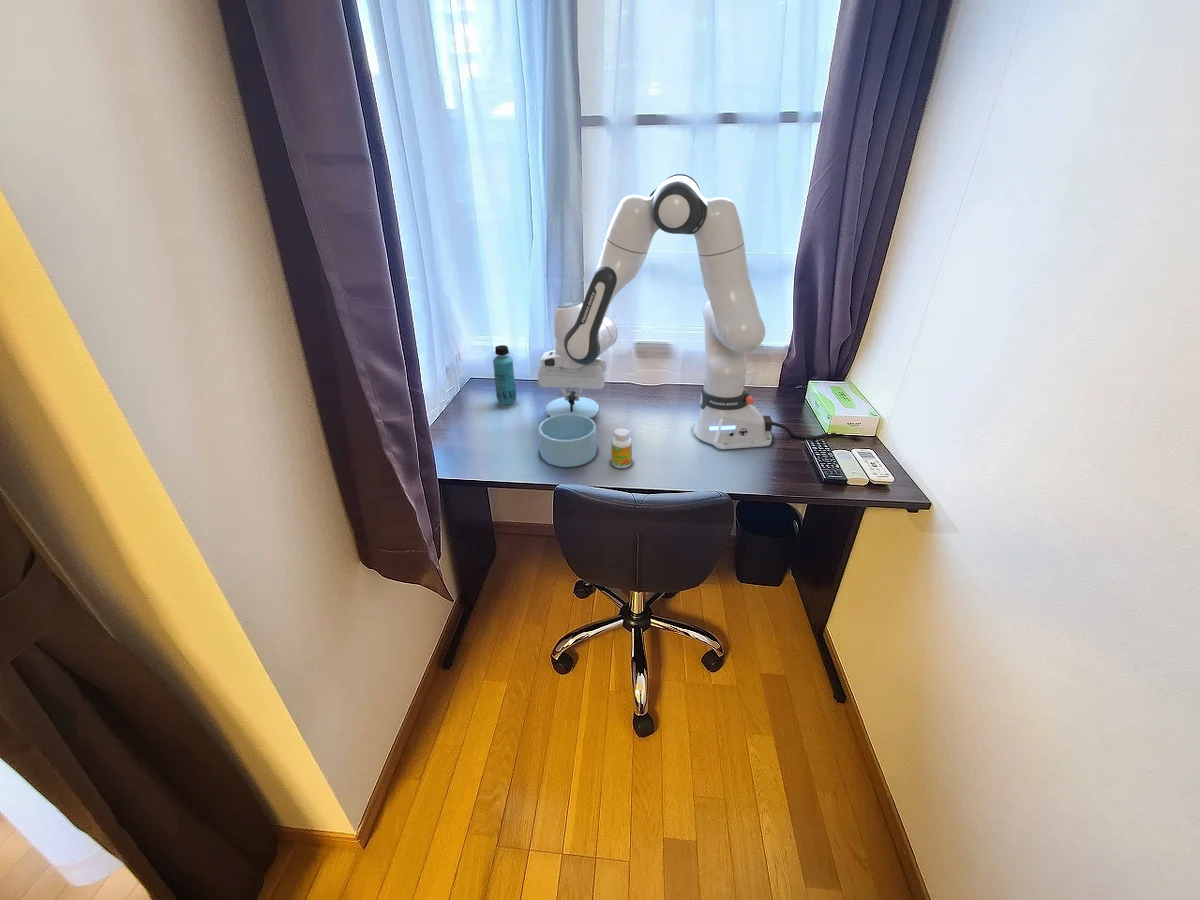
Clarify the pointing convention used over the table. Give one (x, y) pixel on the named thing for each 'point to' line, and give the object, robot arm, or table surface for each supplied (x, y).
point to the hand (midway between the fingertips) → (572, 400)
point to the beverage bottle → (504, 376)
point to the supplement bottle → (621, 448)
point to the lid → (573, 406)
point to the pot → (567, 440)
